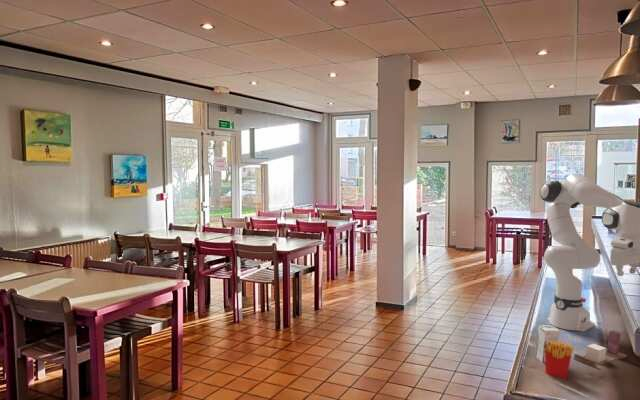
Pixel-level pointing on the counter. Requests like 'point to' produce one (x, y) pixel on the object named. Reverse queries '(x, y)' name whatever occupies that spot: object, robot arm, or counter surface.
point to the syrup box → (545, 340)
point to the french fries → (558, 359)
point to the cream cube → (595, 352)
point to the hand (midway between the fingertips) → (626, 274)
